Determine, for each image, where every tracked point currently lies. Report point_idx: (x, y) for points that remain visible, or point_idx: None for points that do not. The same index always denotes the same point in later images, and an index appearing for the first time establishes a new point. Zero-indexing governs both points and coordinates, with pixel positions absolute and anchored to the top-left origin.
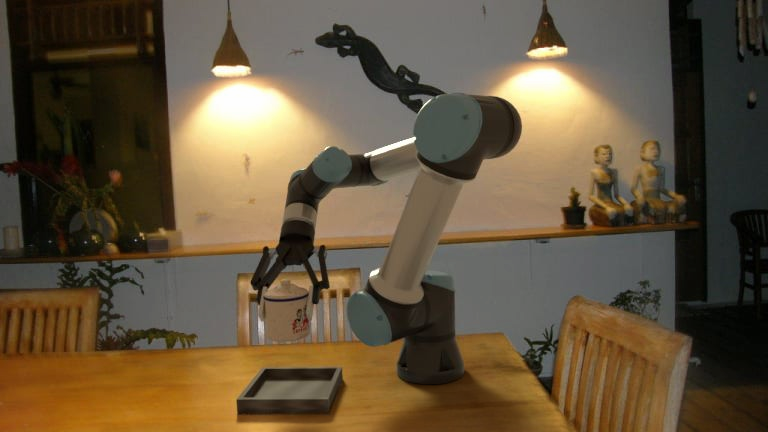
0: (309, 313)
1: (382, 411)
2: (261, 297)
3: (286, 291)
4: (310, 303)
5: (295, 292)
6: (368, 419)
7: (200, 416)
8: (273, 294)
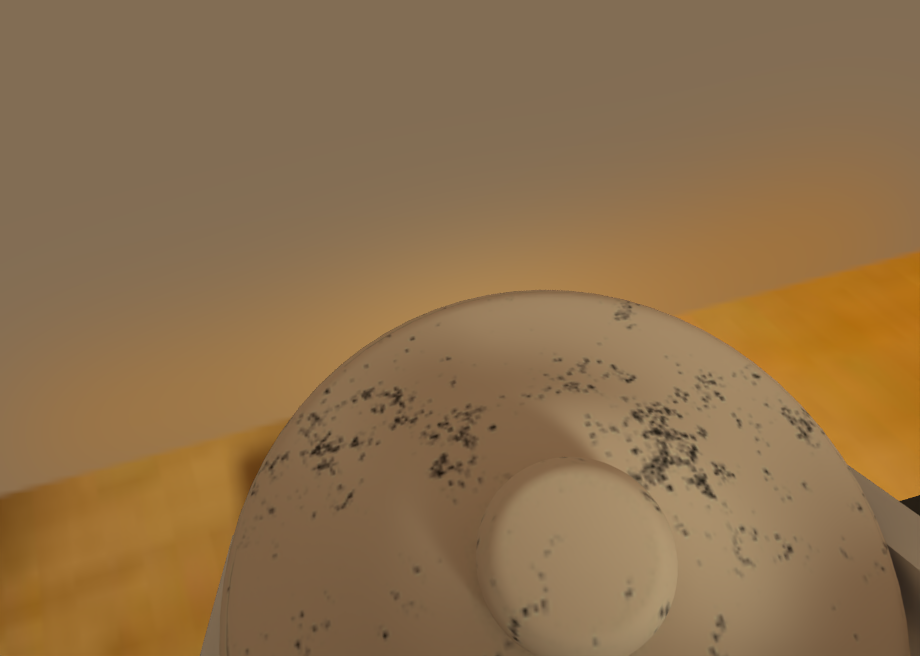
0: (233, 535)
1: (48, 617)
2: (885, 495)
3: (444, 394)
4: (214, 622)
5: (328, 456)
6: (99, 522)
7: (778, 365)
8: (597, 320)
